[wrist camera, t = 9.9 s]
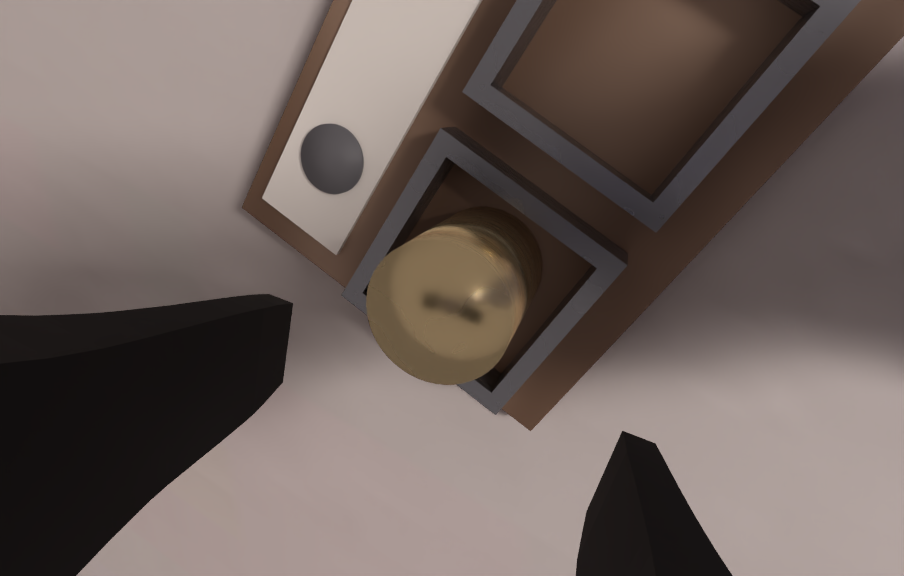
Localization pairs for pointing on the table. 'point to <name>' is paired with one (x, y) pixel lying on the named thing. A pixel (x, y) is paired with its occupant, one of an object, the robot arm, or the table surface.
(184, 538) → the table surface
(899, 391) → the table surface
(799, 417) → the table surface
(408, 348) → the brass peg
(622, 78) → the board
